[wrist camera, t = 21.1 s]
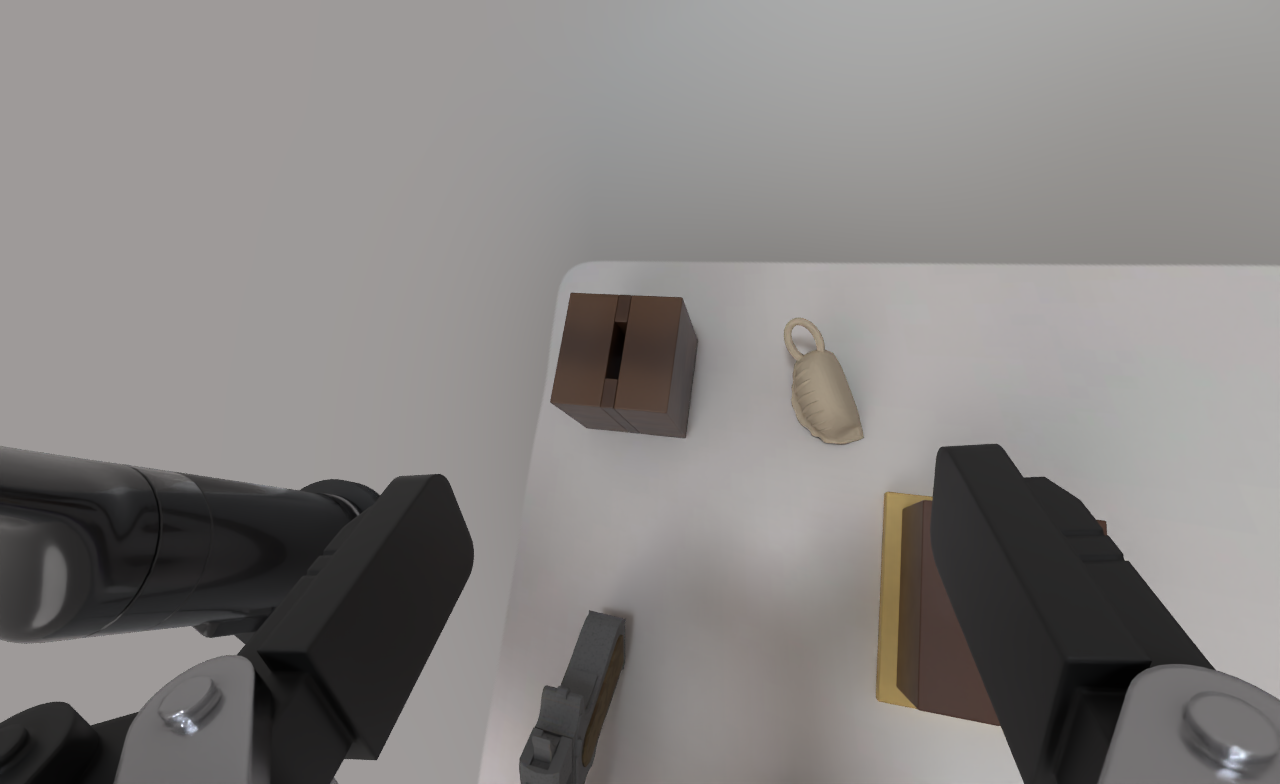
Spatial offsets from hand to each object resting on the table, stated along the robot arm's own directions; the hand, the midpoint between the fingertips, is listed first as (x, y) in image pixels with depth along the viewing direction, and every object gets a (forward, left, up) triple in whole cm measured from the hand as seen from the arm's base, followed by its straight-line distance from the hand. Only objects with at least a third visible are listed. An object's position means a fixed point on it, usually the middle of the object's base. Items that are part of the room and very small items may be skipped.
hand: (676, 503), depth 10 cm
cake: (+3, -14, -34) cm, 37 cm away
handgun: (-18, +4, -34) cm, 39 cm away
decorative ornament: (+12, 0, -34) cm, 36 cm away
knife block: (+7, +13, -34) cm, 37 cm away
